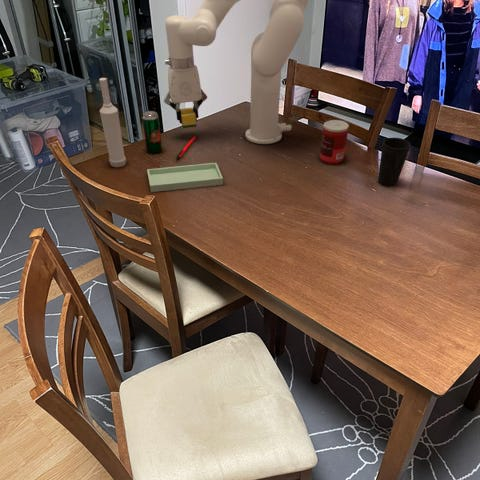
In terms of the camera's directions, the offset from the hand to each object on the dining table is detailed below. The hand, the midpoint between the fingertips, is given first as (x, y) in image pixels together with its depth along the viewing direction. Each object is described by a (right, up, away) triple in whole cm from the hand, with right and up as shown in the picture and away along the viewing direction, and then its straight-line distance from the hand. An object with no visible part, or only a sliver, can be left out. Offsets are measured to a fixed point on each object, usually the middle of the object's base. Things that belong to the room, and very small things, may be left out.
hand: (188, 120), depth 162 cm
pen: (0, -10, -3) cm, 11 cm away
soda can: (-11, -12, -4) cm, 17 cm away
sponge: (0, -1, 0) cm, 1 cm away
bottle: (-21, -18, -11) cm, 30 cm away
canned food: (+47, -16, -8) cm, 50 cm away
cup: (+62, -26, -19) cm, 70 cm away
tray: (+1, -26, -19) cm, 32 cm away
